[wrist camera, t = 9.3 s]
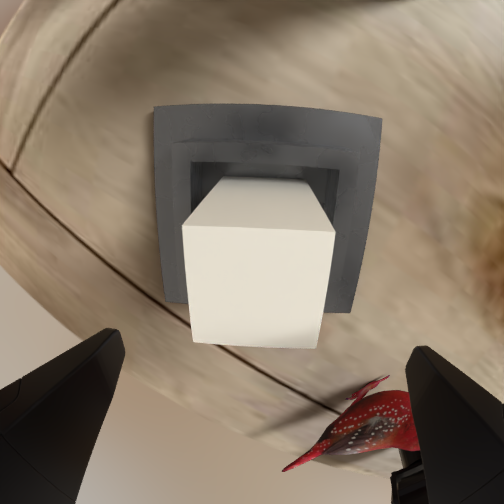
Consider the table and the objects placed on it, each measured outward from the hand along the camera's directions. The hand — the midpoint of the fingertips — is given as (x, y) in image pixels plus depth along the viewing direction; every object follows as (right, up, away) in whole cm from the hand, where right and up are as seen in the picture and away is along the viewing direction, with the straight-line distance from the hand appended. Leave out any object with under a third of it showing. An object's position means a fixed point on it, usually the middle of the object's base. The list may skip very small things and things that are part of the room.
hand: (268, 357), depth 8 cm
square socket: (0, +6, +12) cm, 13 cm away
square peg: (0, +5, +11) cm, 12 cm away
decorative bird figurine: (+9, -12, +19) cm, 24 cm away
